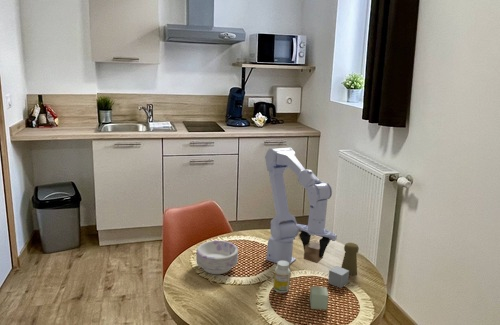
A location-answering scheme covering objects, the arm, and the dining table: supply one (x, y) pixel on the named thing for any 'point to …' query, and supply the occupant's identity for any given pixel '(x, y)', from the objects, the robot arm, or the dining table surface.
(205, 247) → the white purple bowl
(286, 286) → the supplement bottle
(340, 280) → the slate grey block
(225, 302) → the dining table surface
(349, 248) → the olive brown rounded piece
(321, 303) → the sage green block
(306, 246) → the walnut block
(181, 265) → the dining table surface
